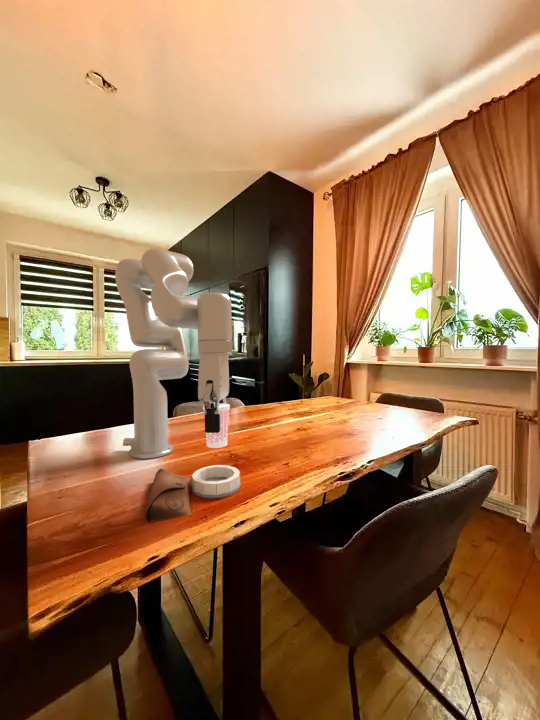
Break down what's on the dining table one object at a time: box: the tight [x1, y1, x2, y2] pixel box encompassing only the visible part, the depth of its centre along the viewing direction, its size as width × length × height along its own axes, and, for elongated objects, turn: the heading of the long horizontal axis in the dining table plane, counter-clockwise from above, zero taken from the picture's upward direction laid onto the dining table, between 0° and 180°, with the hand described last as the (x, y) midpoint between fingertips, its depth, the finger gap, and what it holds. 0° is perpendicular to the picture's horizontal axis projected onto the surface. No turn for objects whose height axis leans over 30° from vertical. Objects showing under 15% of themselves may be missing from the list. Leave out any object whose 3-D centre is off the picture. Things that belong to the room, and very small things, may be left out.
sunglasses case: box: [145, 468, 192, 523], centre depth 64 cm, size 18×7×7 cm
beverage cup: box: [202, 394, 231, 449], centre depth 68 cm, size 6×6×14 cm
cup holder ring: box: [191, 464, 241, 499], centre depth 68 cm, size 11×11×3 cm
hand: (216, 427), depth 68 cm, fingers closed on beverage cup, 6 cm apart
